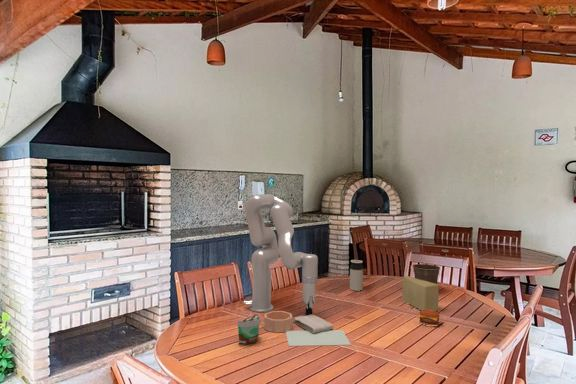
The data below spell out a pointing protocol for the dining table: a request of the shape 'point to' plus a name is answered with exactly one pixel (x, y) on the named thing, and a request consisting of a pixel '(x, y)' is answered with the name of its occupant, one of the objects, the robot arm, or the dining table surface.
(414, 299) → the olive green box
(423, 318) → the hamburger
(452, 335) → the dining table surface
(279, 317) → the bowl
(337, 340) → the mat
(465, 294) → the dining table surface
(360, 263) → the travel mug
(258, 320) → the food container
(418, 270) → the plant pot
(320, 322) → the washcloth
